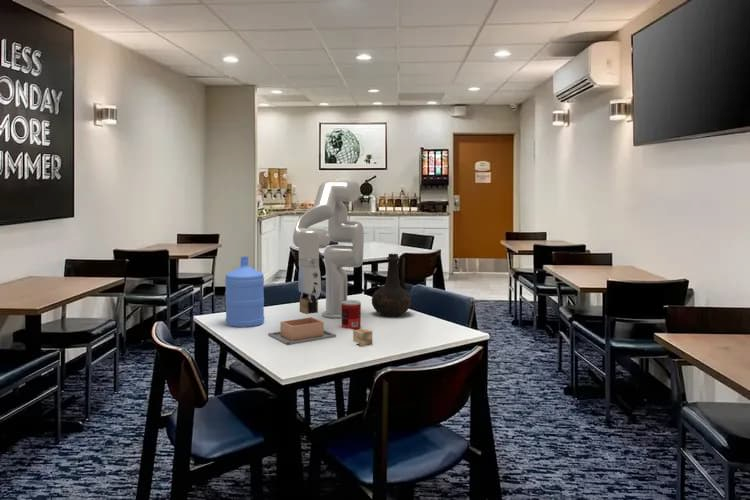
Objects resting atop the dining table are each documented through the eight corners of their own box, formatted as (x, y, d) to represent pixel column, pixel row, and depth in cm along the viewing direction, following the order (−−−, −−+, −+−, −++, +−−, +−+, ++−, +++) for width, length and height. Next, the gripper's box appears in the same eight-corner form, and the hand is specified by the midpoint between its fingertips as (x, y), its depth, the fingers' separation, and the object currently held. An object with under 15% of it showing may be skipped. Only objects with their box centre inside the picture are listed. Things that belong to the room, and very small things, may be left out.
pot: (311, 331, 207) (311, 317, 207) (323, 336, 200) (323, 321, 200) (280, 336, 200) (280, 321, 199) (291, 341, 192) (291, 326, 192)
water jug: (265, 326, 218) (265, 258, 216) (226, 328, 214) (225, 259, 211) (262, 318, 233) (262, 254, 230) (225, 320, 229) (224, 255, 226)
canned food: (363, 327, 219) (363, 300, 218) (356, 331, 211) (356, 304, 210) (346, 325, 221) (346, 299, 220) (338, 330, 214) (338, 303, 213)
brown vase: (366, 311, 249) (366, 252, 246) (400, 309, 255) (401, 251, 253) (380, 320, 232) (381, 256, 229) (417, 317, 239) (418, 255, 236)
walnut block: (311, 310, 204) (311, 297, 204) (317, 312, 200) (317, 299, 199) (299, 311, 201) (299, 298, 201) (306, 314, 197) (306, 300, 197)
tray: (314, 330, 212) (314, 326, 212) (336, 339, 199) (336, 334, 199) (268, 337, 201) (268, 333, 200) (287, 347, 188) (287, 342, 188)
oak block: (364, 341, 198) (364, 328, 197) (372, 344, 194) (372, 331, 193) (353, 343, 195) (353, 330, 194) (361, 346, 191) (361, 333, 190)
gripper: (329, 264, 194) (329, 314, 196) (306, 260, 208) (306, 306, 210) (311, 266, 190) (311, 316, 191) (289, 261, 204) (289, 308, 205)
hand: (308, 310), depth 200 cm, fingers closed on walnut block, 5 cm apart
